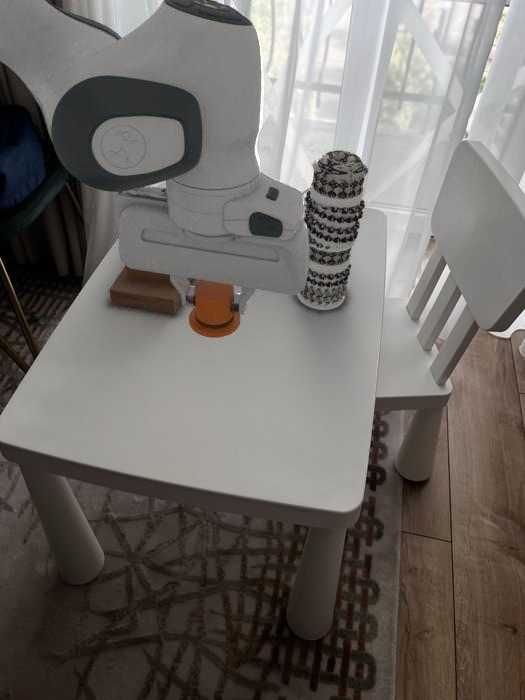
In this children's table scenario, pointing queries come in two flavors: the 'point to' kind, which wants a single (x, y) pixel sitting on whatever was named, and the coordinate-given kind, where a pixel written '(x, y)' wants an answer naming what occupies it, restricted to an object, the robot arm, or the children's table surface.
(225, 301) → the hat
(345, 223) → the decorative candle
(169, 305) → the stand
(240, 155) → the robot arm
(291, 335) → the children's table surface
